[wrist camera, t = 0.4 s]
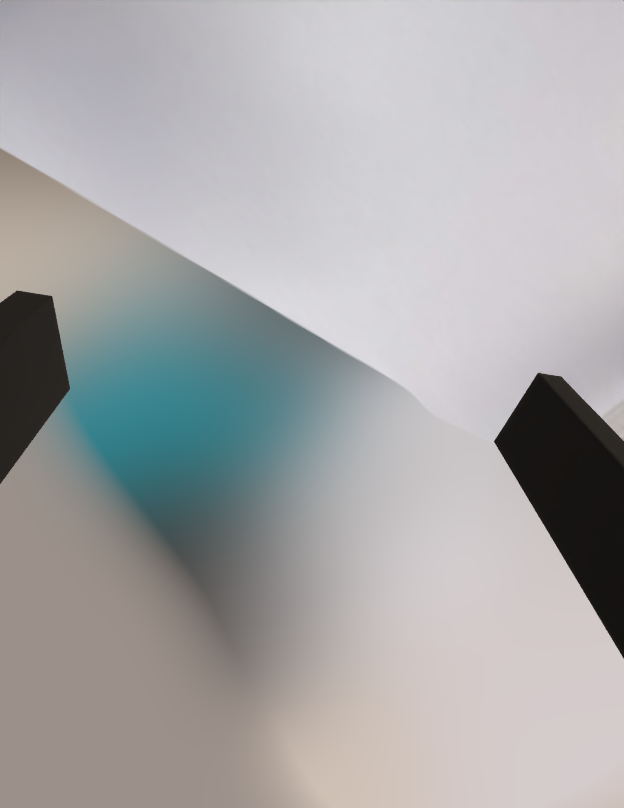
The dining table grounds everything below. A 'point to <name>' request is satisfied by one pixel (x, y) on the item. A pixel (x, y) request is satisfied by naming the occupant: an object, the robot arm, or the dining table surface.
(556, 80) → the dining table surface
